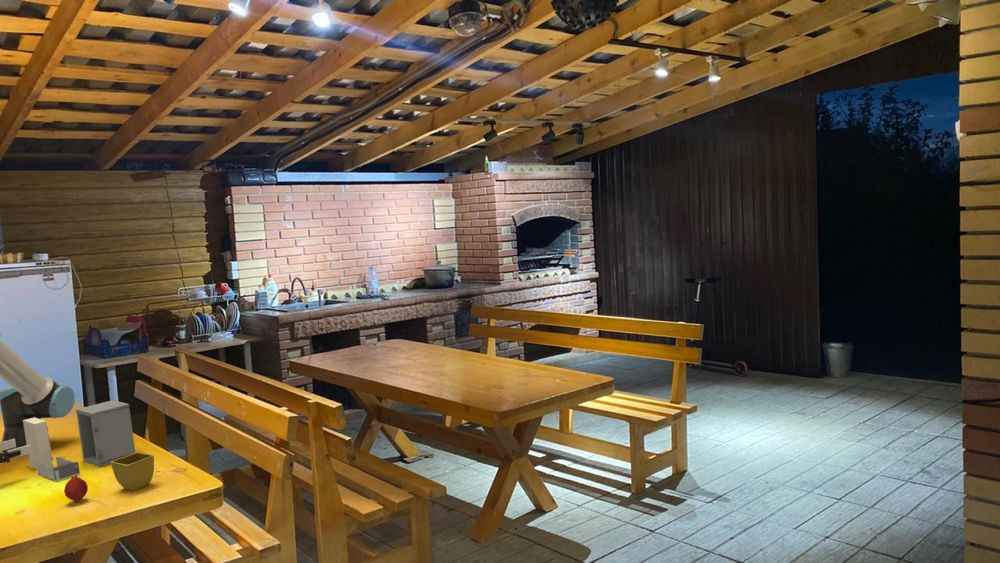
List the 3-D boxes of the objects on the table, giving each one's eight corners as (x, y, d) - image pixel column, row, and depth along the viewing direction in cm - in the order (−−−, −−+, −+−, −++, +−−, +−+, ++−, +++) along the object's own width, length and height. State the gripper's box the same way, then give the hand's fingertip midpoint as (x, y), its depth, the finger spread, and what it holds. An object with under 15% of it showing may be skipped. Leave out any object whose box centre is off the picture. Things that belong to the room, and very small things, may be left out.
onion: (72, 498, 217) (68, 472, 216) (92, 496, 217) (89, 470, 217) (62, 506, 211) (58, 479, 210) (83, 504, 212) (79, 477, 211)
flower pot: (131, 495, 216) (126, 465, 215) (113, 490, 221) (109, 461, 220) (158, 484, 224) (154, 455, 223) (141, 480, 228) (137, 451, 227)
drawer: (37, 473, 242) (36, 461, 242) (60, 466, 248) (58, 455, 247) (56, 481, 233) (54, 469, 233) (79, 474, 238) (78, 462, 238)
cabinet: (83, 461, 252) (75, 409, 250) (119, 450, 261) (112, 400, 259) (100, 467, 244) (92, 414, 242) (137, 456, 253) (130, 404, 251)
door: (29, 466, 251) (22, 420, 249) (42, 462, 254) (35, 417, 252) (41, 471, 245) (34, 424, 243) (54, 467, 248) (47, 420, 246)
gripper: (-65, 471, 236) (10, 451, 253) (-40, 485, 221) (39, 462, 237) (-69, 448, 236) (7, 429, 252) (-44, 461, 220) (35, 440, 236)
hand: (23, 445), depth 244 cm, fingers open, 13 cm apart
